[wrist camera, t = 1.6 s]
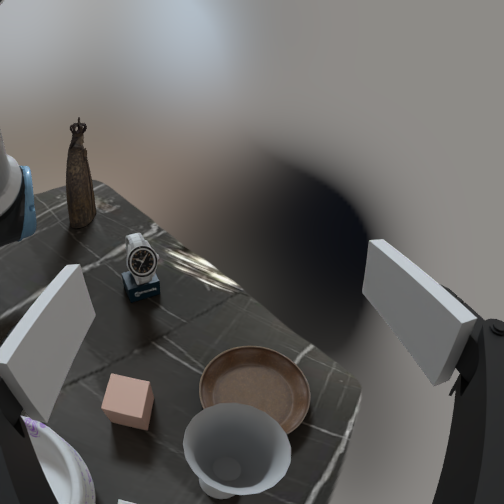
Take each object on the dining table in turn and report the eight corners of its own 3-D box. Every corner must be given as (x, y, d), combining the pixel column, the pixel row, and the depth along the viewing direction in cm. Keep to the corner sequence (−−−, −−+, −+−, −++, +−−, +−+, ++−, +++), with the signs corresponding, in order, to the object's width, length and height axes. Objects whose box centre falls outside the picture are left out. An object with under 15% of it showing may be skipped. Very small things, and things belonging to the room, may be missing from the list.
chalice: (261, 476, 28) (309, 437, 17) (229, 516, 23) (256, 513, 13) (212, 445, 31) (222, 385, 20) (178, 482, 26) (160, 450, 15)
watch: (134, 310, 46) (126, 259, 39) (121, 279, 51) (113, 229, 44) (165, 301, 49) (162, 249, 42) (149, 272, 54) (145, 222, 47)
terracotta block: (111, 422, 30) (101, 408, 27) (119, 390, 34) (111, 373, 31) (147, 430, 31) (141, 418, 28) (154, 398, 35) (149, 381, 32)
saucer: (241, 338, 46) (243, 328, 44) (322, 388, 40) (328, 380, 38) (176, 401, 35) (175, 393, 33) (268, 467, 30) (272, 463, 28)
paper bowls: (59, 417, 28) (35, 392, 23) (129, 510, 21) (111, 506, 17) (-13, 459, 18) (-47, 439, 13) (45, 555, 11) (13, 556, 7)
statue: (101, 222, 63) (88, 118, 48) (72, 231, 59) (52, 126, 44) (94, 206, 68) (83, 112, 53) (68, 214, 64) (52, 119, 49)
